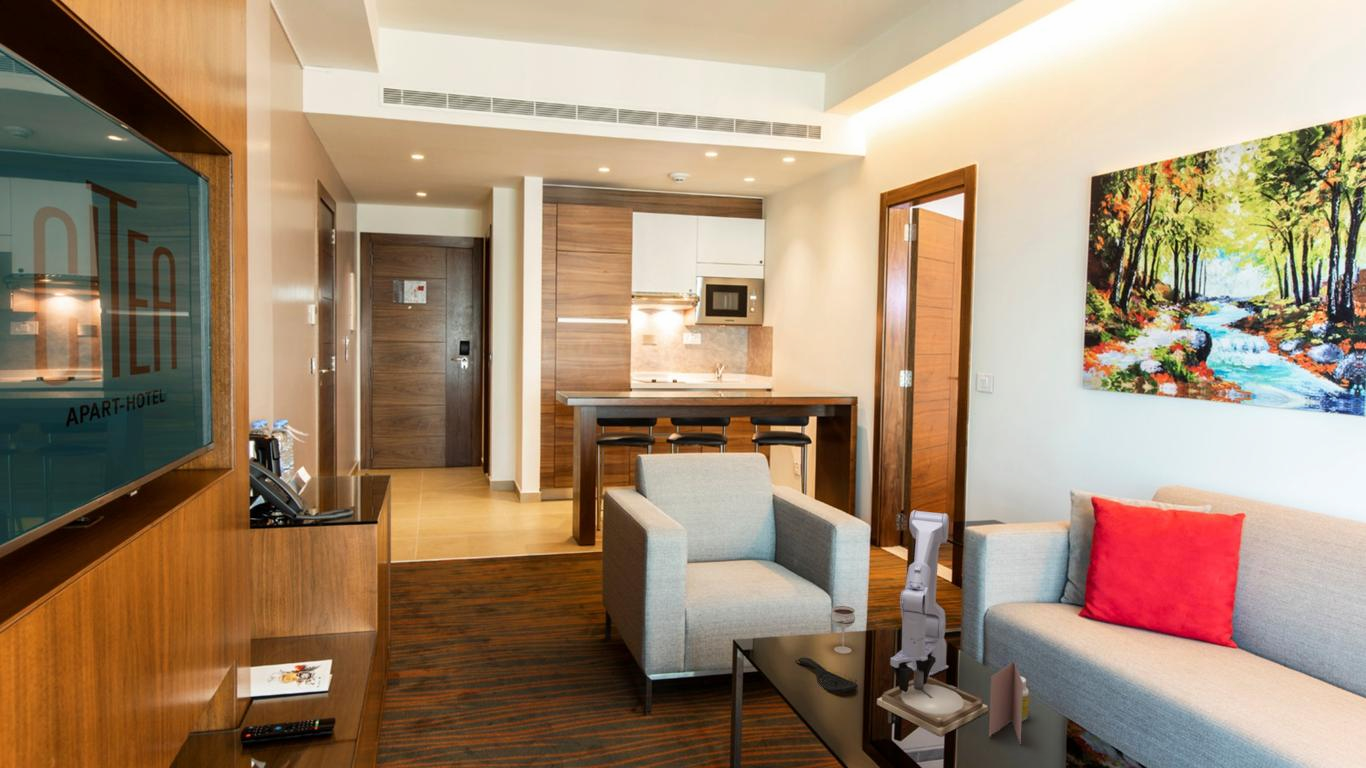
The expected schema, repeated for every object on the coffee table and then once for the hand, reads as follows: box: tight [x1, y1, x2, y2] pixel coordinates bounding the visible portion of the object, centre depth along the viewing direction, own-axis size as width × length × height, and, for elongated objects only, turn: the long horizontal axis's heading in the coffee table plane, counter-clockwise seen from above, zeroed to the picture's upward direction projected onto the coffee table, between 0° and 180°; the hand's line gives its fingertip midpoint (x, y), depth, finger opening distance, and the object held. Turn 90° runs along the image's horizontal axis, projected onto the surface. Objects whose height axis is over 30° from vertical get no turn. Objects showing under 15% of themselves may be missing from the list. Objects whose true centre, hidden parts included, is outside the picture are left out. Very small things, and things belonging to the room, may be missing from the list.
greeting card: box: [988, 661, 1023, 745], centre depth 195 cm, size 11×7×15 cm, turn 133°
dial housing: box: [876, 676, 989, 737], centre depth 208 cm, size 19×19×3 cm
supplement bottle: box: [1020, 675, 1030, 720], centre depth 204 cm, size 5×5×10 cm
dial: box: [901, 669, 964, 717], centre depth 208 cm, size 15×15×5 cm
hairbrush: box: [798, 657, 859, 694], centre depth 225 cm, size 8×4×25 cm
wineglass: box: [831, 605, 856, 654], centre depth 242 cm, size 7×7×12 cm
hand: (912, 686), depth 213 cm, fingers open, 6 cm apart
